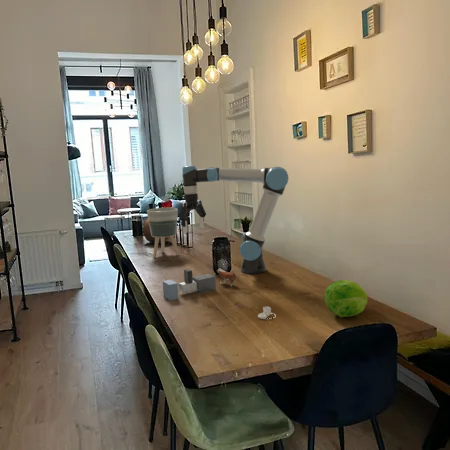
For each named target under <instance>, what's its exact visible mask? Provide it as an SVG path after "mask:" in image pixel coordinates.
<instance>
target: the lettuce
mask: <svg viewBox="0 0 450 450" xmlns="http://www.w3.org/2000/svg"><path fill="white" fill-rule="evenodd" d="M368 298H369V297H368V294H367V292H366V290H364V288H363V287H362V286H361V285H360V284H358V282H355V281H352V280H347V279H346V280H345V279H343V280H336V281H333V282H331V283H330V284H329V285H328V286H326V289H325V293H324V302H325V305H326V307H327V308H328V310H329V311H330V312H331V313H333V314H334V315H336V316H338V317H339V318H344V317H345V318H350V317H353V316H358V315H359V314H361V313H362V312H364V310H365V308H366V305H367V303H368Z"/></svg>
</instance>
